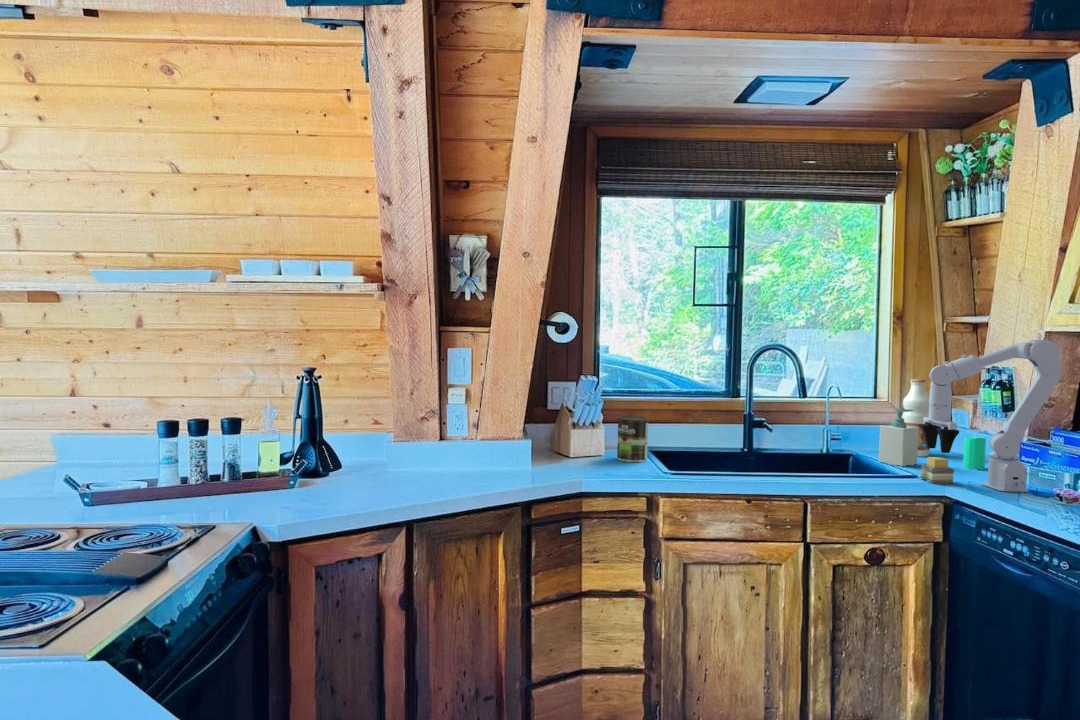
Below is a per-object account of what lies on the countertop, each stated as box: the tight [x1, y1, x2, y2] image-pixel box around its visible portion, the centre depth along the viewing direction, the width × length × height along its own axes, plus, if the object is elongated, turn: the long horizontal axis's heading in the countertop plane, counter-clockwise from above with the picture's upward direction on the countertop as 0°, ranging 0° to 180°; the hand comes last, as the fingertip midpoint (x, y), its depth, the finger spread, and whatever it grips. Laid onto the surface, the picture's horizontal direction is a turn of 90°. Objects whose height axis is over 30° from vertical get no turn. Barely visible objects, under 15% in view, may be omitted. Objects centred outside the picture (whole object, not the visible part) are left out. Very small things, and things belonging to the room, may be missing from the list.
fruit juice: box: [902, 378, 931, 458], centre depth 252 cm, size 9×9×28 cm
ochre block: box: [926, 456, 949, 468], centre depth 206 cm, size 4×4×4 cm
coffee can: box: [616, 416, 649, 463], centre depth 232 cm, size 10×10×14 cm
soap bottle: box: [878, 407, 919, 467], centre depth 234 cm, size 9×9×19 cm
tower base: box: [920, 463, 955, 485], centre depth 206 cm, size 6×6×4 cm
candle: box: [962, 432, 987, 470], centre depth 228 cm, size 6×6×12 cm
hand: (938, 450), depth 206 cm, fingers open, 7 cm apart
